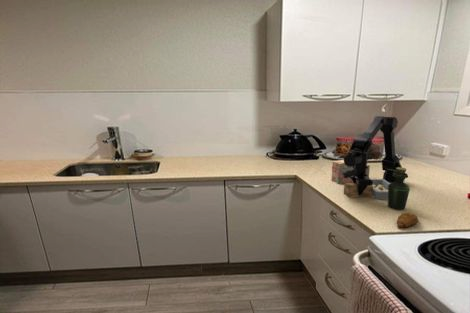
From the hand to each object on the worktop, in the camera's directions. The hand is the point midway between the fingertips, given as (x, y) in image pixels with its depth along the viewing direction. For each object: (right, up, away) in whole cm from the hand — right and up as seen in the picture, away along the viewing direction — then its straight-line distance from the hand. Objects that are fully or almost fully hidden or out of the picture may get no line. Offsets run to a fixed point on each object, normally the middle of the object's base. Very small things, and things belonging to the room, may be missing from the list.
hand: (357, 193), depth 130 cm
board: (0, -1, 0) cm, 1 cm away
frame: (+14, 0, +4) cm, 14 cm away
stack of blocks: (+7, +4, +23) cm, 25 cm away
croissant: (+5, -8, -30) cm, 31 cm away
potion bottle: (+10, -4, -15) cm, 18 cm away
